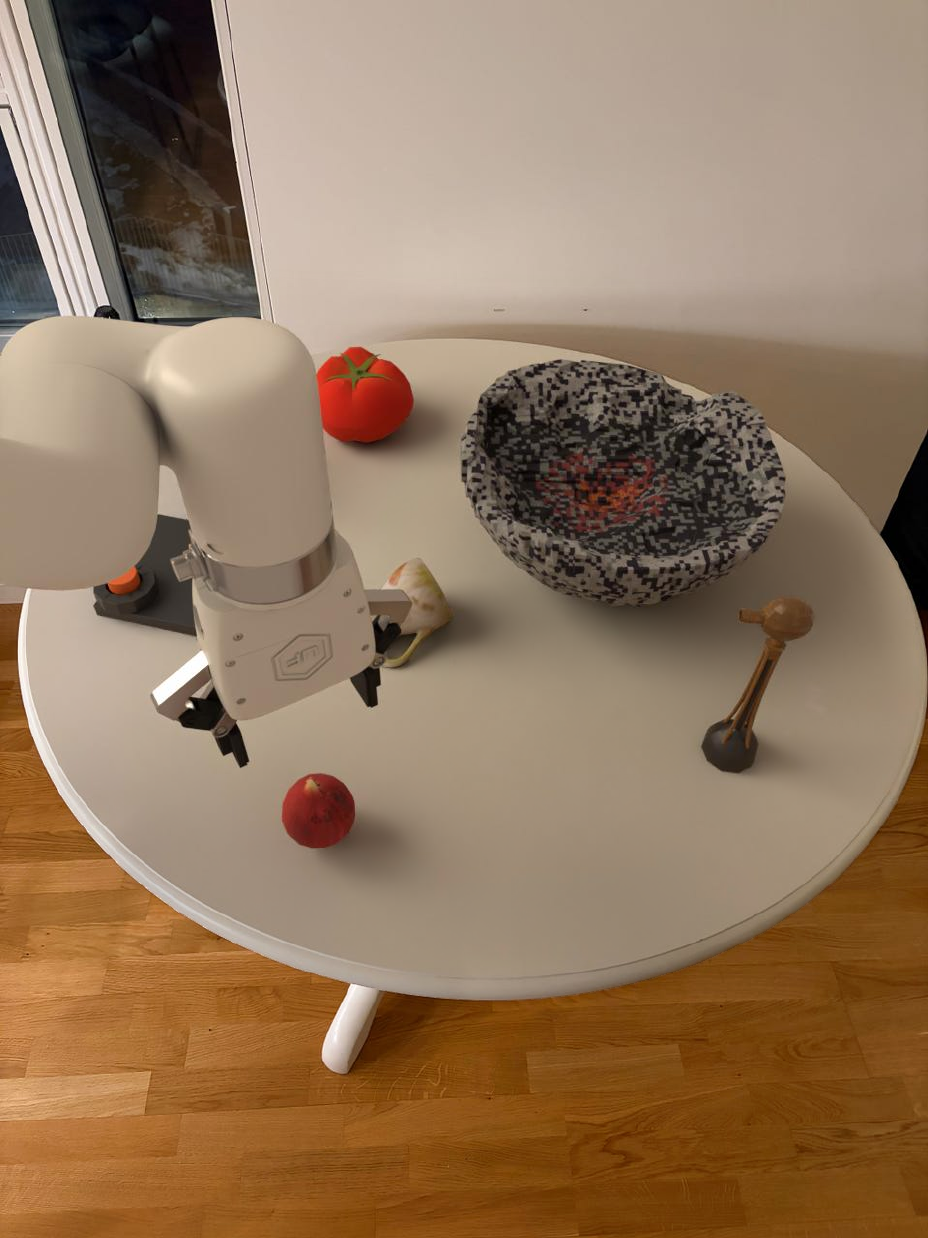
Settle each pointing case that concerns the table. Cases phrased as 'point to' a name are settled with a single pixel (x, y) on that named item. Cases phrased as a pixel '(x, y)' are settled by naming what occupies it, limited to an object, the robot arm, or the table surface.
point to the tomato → (362, 396)
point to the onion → (318, 811)
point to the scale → (156, 584)
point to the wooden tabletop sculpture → (756, 683)
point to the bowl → (619, 480)
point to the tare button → (125, 583)
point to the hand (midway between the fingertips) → (302, 721)
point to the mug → (418, 604)
